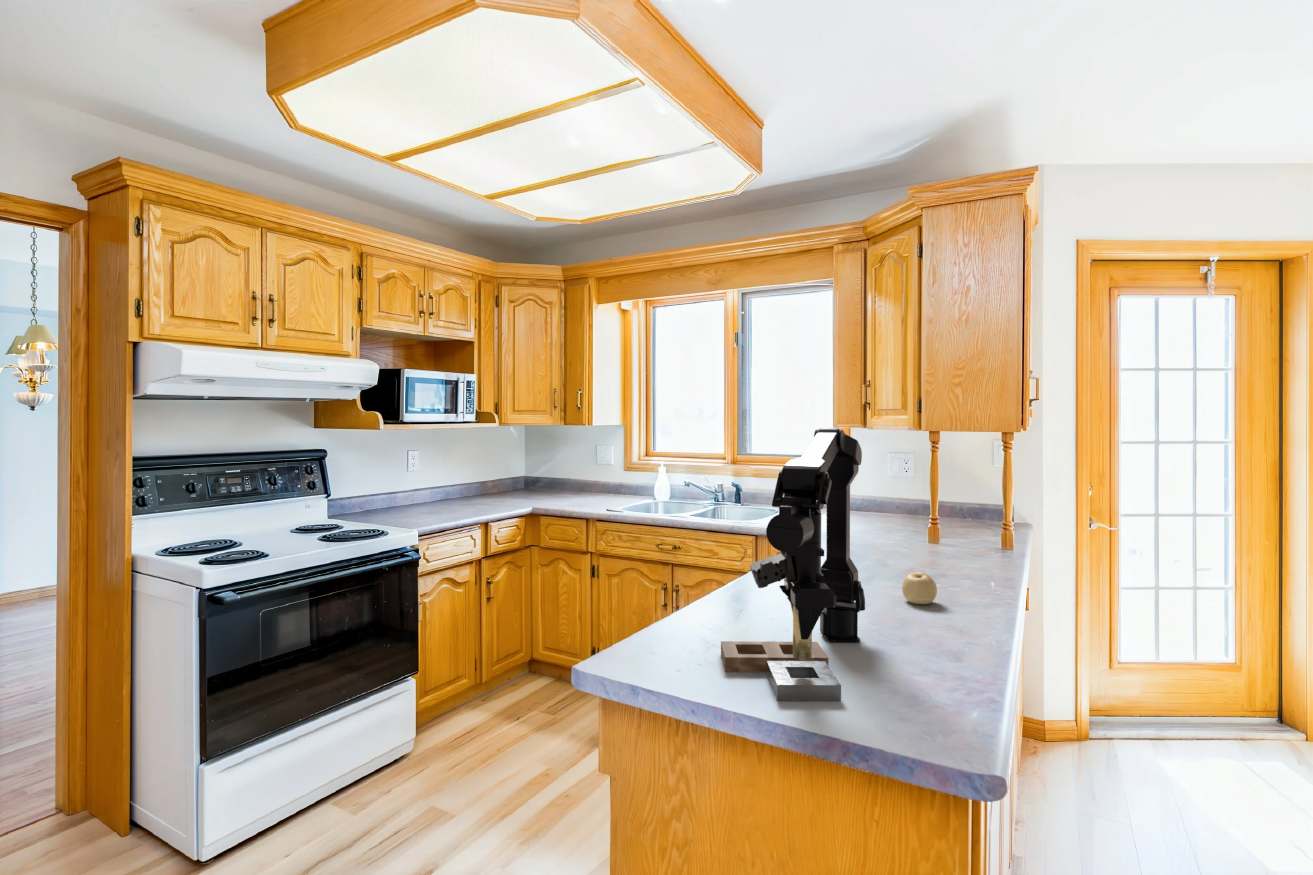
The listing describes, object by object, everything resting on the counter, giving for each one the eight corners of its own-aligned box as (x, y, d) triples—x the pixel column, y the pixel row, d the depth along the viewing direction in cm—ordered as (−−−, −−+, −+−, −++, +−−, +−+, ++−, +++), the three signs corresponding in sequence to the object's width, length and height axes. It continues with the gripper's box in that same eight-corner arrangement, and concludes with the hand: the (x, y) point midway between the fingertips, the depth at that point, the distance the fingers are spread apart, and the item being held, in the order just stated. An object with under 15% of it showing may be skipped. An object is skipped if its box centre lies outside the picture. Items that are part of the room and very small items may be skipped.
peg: (809, 653, 106) (809, 600, 106) (813, 660, 103) (813, 605, 103) (791, 653, 106) (791, 600, 106) (794, 660, 103) (795, 605, 103)
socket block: (824, 675, 110) (824, 660, 110) (841, 701, 100) (841, 685, 100) (766, 675, 110) (766, 660, 110) (777, 700, 100) (777, 684, 100)
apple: (933, 596, 157) (943, 574, 153) (928, 617, 151) (938, 594, 147) (901, 583, 160) (910, 561, 156) (894, 603, 154) (904, 580, 150)
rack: (817, 655, 119) (817, 641, 119) (828, 671, 111) (828, 657, 111) (720, 654, 119) (720, 641, 119) (725, 671, 111) (725, 657, 111)
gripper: (746, 530, 113) (745, 617, 114) (762, 552, 95) (762, 656, 95) (808, 530, 113) (808, 617, 114) (837, 552, 95) (836, 656, 95)
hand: (802, 635), depth 104 cm, fingers closed on peg, 3 cm apart
